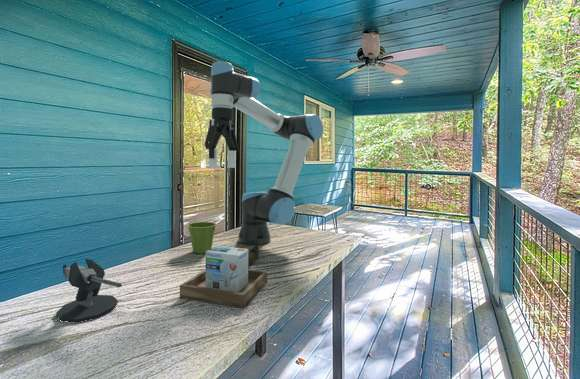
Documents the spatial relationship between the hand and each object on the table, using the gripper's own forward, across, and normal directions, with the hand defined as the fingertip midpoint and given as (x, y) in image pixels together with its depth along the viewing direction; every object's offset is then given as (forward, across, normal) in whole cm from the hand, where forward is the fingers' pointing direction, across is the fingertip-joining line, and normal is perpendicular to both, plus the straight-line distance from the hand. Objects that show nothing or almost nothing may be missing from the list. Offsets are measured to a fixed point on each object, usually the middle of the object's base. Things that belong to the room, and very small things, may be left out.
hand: (222, 168), depth 107 cm
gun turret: (+35, -43, +11) cm, 56 cm away
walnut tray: (+35, -22, -13) cm, 43 cm away
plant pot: (+35, +8, +14) cm, 38 cm away
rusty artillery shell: (+35, 0, -10) cm, 36 cm away
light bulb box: (+34, -22, -13) cm, 42 cm away
